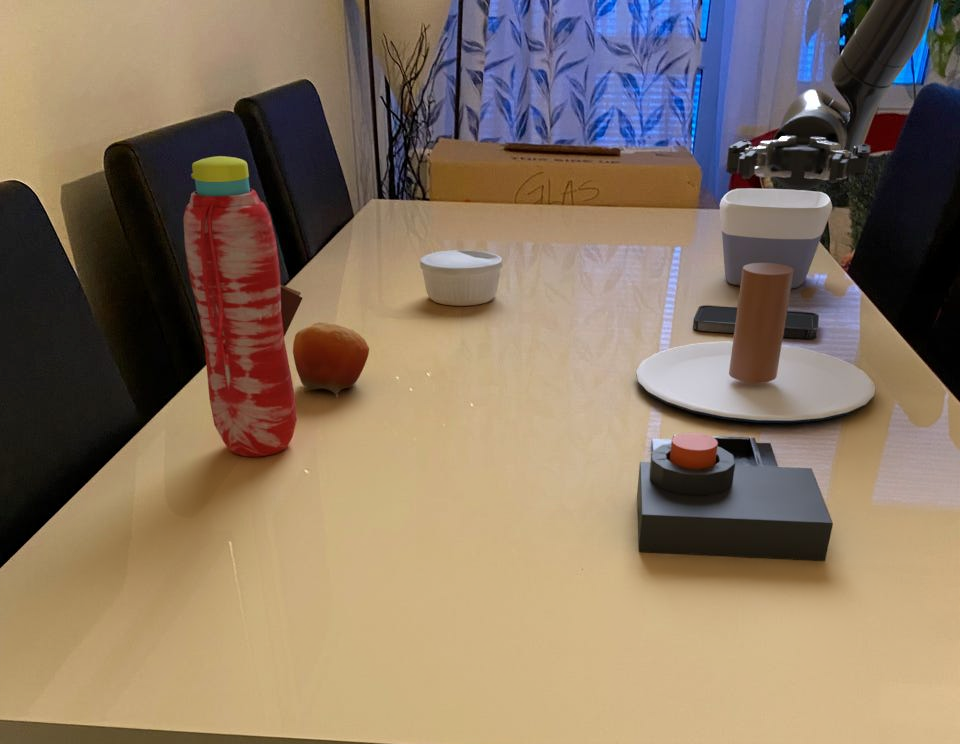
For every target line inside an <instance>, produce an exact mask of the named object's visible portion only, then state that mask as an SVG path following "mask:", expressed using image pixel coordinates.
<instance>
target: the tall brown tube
mask: <svg viewBox="0 0 960 744" xmlns="http://www.w3.org/2000/svg"><path fill="white" fill-rule="evenodd" d="M793 272H794V270H793V268H791V267H789V266H786V265H782V264H776V263H752V264H748V265H745V266H744V267H743V271H742V278H741V286H739V293H738V301H737V307H738V308H737V315H736V323H735V330H734V333H733V339H732V341H733V345H732V353H731V360H730V368H729V375H730V376H731V377H732V378H734V379H737V380H740V381H744V382H752V383H762V382H769V381H772V380H774V379H775V378H776V377H777V371H778V365H779V358H780V352H781V346H782V345H783V339H784V337H783V334H784V327H785V321H786V315H787V311H788V308H789V302H790V294H791V290H792V289H791V284H792V278H793Z"/></svg>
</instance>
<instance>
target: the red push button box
mask: <svg viewBox="0 0 960 744" xmlns="http://www.w3.org/2000/svg"><path fill="white" fill-rule="evenodd" d="M670 452H671V443H670V444H665V445H661V446H660V447H658V448H657V449H655V450H654V451H652V450H651V453H650V461H639V466H638V467H639V468H638V477H637V479H638V481H637V492H636V507H637V508H636V510H637V513H636V514H637V540H638V541H637V543H638V544H637V545H638V546H637V547H638V552H639V553H655V554H657V553H659V554H675V555H678V554H680V555H696V556H698V555H699V556H719V557H739V558H757V559H758V558H759V559H760V558H761V559H778V560H779V559H781V560H782V559H783V560H801V561H821V562H823V561H826V558H827V554H828V548H829V544H830V540H831V534H832V530H833V526H834V522H833V519H832V518H831V515H830V512H829V510H828V507H827V503H826V502H825V499H824V497H823V494H822V491H821V489H820V487H819V484H818V482H817V479H816V475H815V474H814V472H813V471H814V470H813V468H812V467H792V466H791V467H788V466H778V467H766V466H740V465H735V460H734V456H733V454H731V453H729V452H728V451H726V450H724V449H723V448H721V447H717V455H716V463H715V465H714V466H712V467H707V468H702V469H700V468H686V467H682V466H678V465H675V464H673V463H672V462H670Z"/></svg>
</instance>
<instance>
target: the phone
mask: <svg viewBox="0 0 960 744" xmlns="http://www.w3.org/2000/svg"><path fill="white" fill-rule="evenodd" d="M737 308H738V306H724V305H711V304H705V305H703V304H702V305H699V306H698V308H697V310H696V312H695V315H694V317H693V322H692V329H693V330H695V331H701V332H712V333H713V332H715V333H726V334H734V330H735V323H736V315H737ZM819 318H820V315H819V314H818V313H817V312H810V311H809V312H808V311H798V310H797V311H796V310H787V315H786V321H785V327H784V334H783V338H792V339H803V340H804V339H807V340H810V339H815V338H817V335H818V330H819V320H820V319H819Z"/></svg>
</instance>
